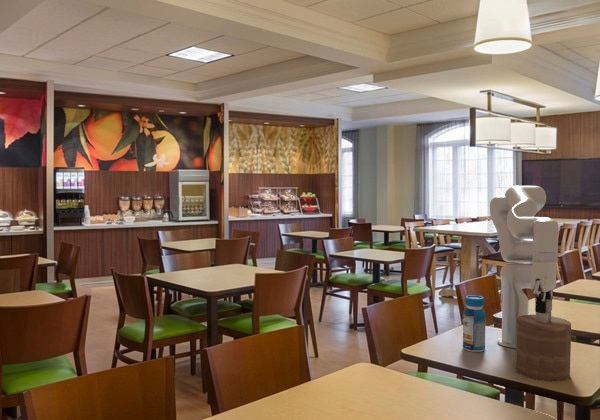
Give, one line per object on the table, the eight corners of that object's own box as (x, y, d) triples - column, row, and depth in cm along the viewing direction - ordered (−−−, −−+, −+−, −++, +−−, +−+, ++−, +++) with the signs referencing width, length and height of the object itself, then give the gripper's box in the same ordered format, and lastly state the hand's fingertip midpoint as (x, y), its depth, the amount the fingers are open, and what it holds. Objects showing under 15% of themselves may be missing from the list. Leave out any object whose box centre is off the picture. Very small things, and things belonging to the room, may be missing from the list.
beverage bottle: (484, 353, 201) (485, 300, 200) (461, 351, 205) (461, 298, 203) (486, 347, 209) (487, 295, 208) (463, 344, 212) (464, 293, 211)
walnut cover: (528, 360, 194) (529, 292, 193) (577, 372, 182) (579, 300, 181) (506, 372, 183) (508, 300, 181) (557, 386, 171) (560, 308, 169)
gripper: (543, 253, 189) (542, 305, 190) (522, 258, 177) (521, 313, 178) (566, 255, 183) (565, 309, 184) (546, 260, 172) (544, 318, 173)
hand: (543, 310), depth 181 cm, fingers open, 4 cm apart
